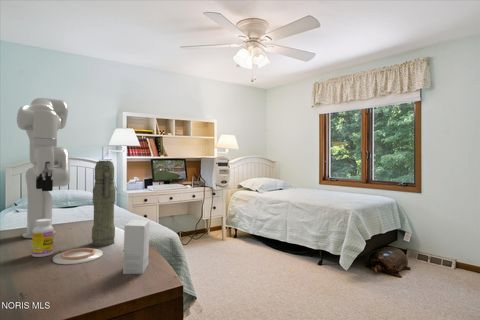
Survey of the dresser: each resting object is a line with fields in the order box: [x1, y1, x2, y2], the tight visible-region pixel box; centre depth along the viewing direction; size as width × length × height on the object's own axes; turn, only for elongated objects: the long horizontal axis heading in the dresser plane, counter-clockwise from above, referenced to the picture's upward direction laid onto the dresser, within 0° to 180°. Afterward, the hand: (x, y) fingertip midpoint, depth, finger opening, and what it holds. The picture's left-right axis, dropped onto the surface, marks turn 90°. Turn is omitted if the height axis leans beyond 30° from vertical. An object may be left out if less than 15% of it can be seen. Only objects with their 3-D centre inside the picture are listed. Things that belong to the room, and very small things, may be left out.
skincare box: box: [122, 219, 150, 275], centre depth 97 cm, size 8×7×16 cm
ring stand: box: [52, 247, 103, 265], centre depth 109 cm, size 16×16×2 cm
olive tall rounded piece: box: [91, 160, 116, 247], centre depth 126 cm, size 9×12×35 cm
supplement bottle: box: [31, 219, 55, 258], centre depth 110 cm, size 7×7×13 cm
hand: (44, 189), depth 110 cm, fingers open, 9 cm apart
